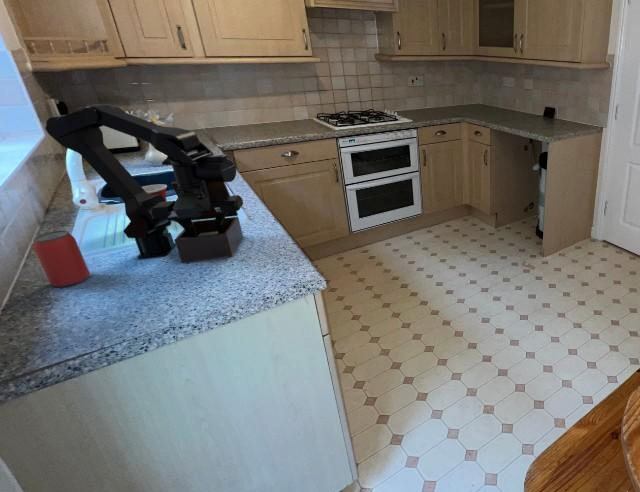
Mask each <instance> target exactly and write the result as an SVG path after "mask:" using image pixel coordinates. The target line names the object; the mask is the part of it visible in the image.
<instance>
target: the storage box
mask: <svg viewBox="0 0 640 492" xmlns="http://www.w3.org/2000/svg"><path fill="white" fill-rule="evenodd" d="M192 224H193V227H194V230H195V237H191V236H190V235H189V234H188V233H187V232H186V230H185V229H184V228H183V230H182V231H181V232H180V233H179V234H178V235H177V236H176V237H175V238H174V239H173V241H174V243H175V244H176V245H175V247H176V250H177V253H178V257H179V258H180V262H181V264H185V263H192V262H199V261H207V260H214V259H216V260H217V259H224V258H230V257H231V258H232V257H234V255H235V253H236V251H237V249H238V248H239V246H240V244H241V242H242V241H243V239H244V234H243V230H242V226H241V223H240V218H239V216H231V217H225V219H224V225H223V230H222V234H214V235H205V236H198V235H199V234H200V233H207V232H216V231H217V225H216V219H215V218H212V219H202V220H192Z"/></svg>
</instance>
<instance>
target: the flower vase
mask: <svg viewBox="0 0 640 492" xmlns="http://www.w3.org/2000/svg"><path fill="white" fill-rule="evenodd" d="M125 113H128V114H130V115H133V116H135V117H138V118H141V119H143V120H146V121H149V122H151V123H154V124H157V125H159V126H161V125H165V122H166V123H167V124H168V125H169V127H173V122H174V118H173V114H174V112H171V113H170V115H169V116H168V117H167V116H163V115H162V111H161V110H159V109H157V110H155V111H153V110H152V109H148V110H147V113H146V112H145V111H142V110H140V109H137V110H136V114H135V113H134V111H133V110H131V112H129V111H128V110H126V111H125ZM164 121H165V122H164ZM166 158H167V155H165V154H163V153H161V152H159V151H157V150H156V149H155V148H154V147H153V146H152V145H151V144H150V143H148V151H147V152H146V153H145V155H144V160H145V162H147V163H149V164H151V165H150V166H153V167H160V166H164V165H163V164H162V162H163V161H164V160H165V159H166Z"/></svg>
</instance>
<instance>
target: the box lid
mask: <svg viewBox="0 0 640 492" xmlns="http://www.w3.org/2000/svg"><path fill="white" fill-rule="evenodd" d="M170 185H171V186H172V188H173V191H174V192H175V194H176V196H177V197H178V193H177V189H178V188H179V187H178V184H177V181H171V182H170ZM207 188H208V191H209V195H211V197H212V199H211V202H212V201H221V199H222V198H223V197H224V196H231V194H230V192H229V189H228V187H227V184H226V182H208V185H207ZM215 212H216V210H215V209H209V210H204V211H203V212H202V214H201V216H200V217H197V218H193V217H192V218H191V220H192V221H200V220H210V219H215V217H214V216H213V214H214V213H215ZM229 217H239V213H238V211H235V212H229V213H228V214H227V215H226V216H225V218H229Z"/></svg>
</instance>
